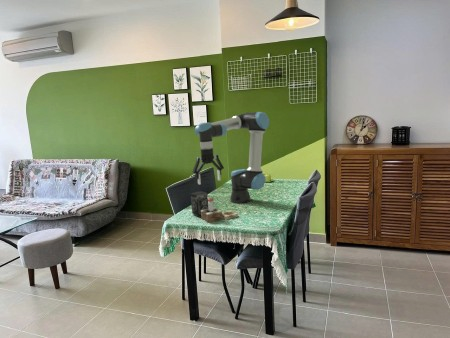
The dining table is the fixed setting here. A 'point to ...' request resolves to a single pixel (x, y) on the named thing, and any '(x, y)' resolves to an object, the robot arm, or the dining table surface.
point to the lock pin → (210, 205)
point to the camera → (199, 202)
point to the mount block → (229, 214)
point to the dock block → (211, 215)
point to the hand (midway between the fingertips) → (209, 182)
